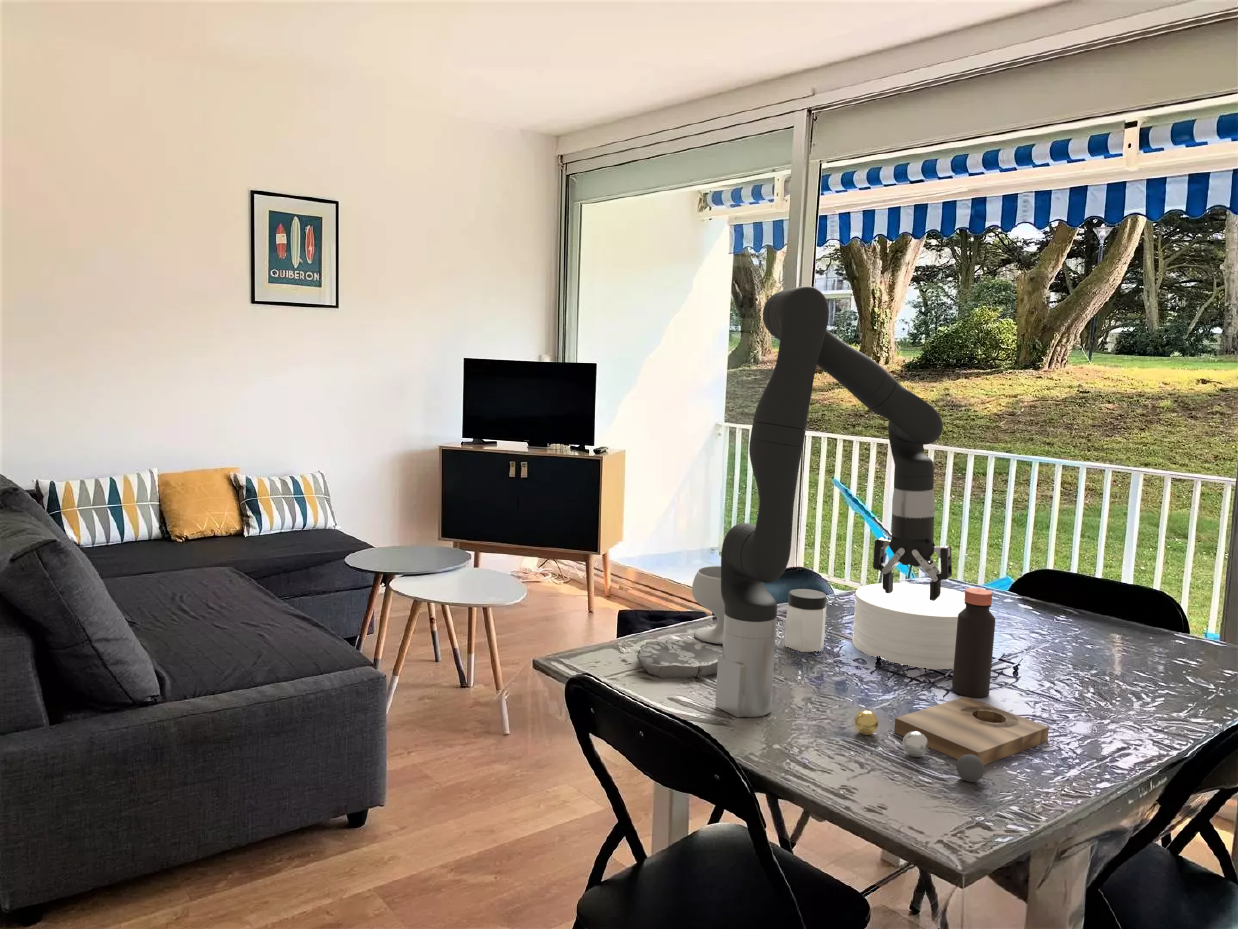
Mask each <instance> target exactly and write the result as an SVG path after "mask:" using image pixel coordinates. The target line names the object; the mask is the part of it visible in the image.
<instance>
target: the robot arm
mask: <svg viewBox="0 0 1238 929" xmlns="http://www.w3.org/2000/svg"><path fill="white" fill-rule="evenodd" d="M829 316H830V309H829V304H828V300H827V299H826V296H825V295H824V294H823V293H822V291H821V290H819V289H818V288H817V287H814V286H809V285H806V286H805V285H804V286H803V285H802V286H796V287H792V288H787V289H783V290H780V291H778V292H775V293H774V294H773V295H771V296H770V297H769V298H768V299H767V300H766V301H765V303H764V306H763V310H762V321H763V325H764V326H765V328H766V330H767V331H768V333H769V334H770V335H771V336H772V337H773V338H774V339H775V338H776V339H777V340H779V344H778V352H777V358H776V361H775V366H774V369H773V372H772V374H771V376H770V379H769V381H768V383H767V384H766V387H765V389H764V391H763V392H762V394H761V397H760V399H759V400H758V404H757V406H756V408H755V411H754V415H753V419H752V427H751V431H750V432H751V433H750V437H749V450H748V452H749V458H750V459H749V460H750V463H751V468H752V472H753V476H754V478H755V482H756V487H757V491H758V492H757V493H758V510H757V517H756V523H755V524H754V523H753V524H752V523H746V522H741V523H737V524H735V525H734V526H732V527H731V528H730V529H729V530H728V532H727V533H726V535H725V537H724V539H723V541H722V542H723V543H722V546H721V552H720V553H721V555H720V566H721V595H722V599H723V601H724V605H725V613H724V631H723V644H722V648H723V650H722V655H719V656H718V665H717V673H716V687H715V688H716V689H715V704H714V705H715V707H716V708H718V709H720V710H722V711H724V712H726V713H728V714H730V715H732V716H734V717H736V718H742V717H744V718H745V717H748V718H749V717H751V718H752V717H753V718H755V717H762V716H765V715H768V714H769V713H771V712H772V704H773V703H772V701H773V700H772V699H773V683H774V667H775V665H774V664H775V650H776V649H775V648H776V633H777V632H776V631H777V616H778V603H777V601H776V599H775V598H774V596H772V594H771V593H770V592H769V591H768V590H767V588H766V586H765V584H769V583H773V582H776V581H777V580H778V579H780V578H781V577H782V575H784V573H785V571H786V569H787V567H788V564H789V561H790V555H791V549H792V538H793V521H794V520H793V519H794V507H795V498H796V492H797V485H798V484H797V483H798V476H799V469H800V465H801V464H800V463H801V458H802V454H803V450H804V449H803V448H804V443H805V437H806V433H807V432H806V431H807V424H808V418H809V417H808V415H809V411H810V410H809V409H810V405H811V404H810V403H811V399H812V392H813V388H814V380H815V375H816V370H817V366H818V367H819V368H820V369H822V370H823V371H824V372H826V373H827V374H828V375H830V376H831V378H833V379H834V380H835V381H836V382H838V383H839V384H841V386H842V387H843V388H845V389H846V390H847V391H848V392H849V393H851V394H852V396H854V397H855V398H856V399H857V400H858V401H859V402H860V403H862V405H864V406H865V407H866V408H867V409H868V410H869V411H871V412H872V413H874V414H875V415H877V416H880V417H883V418H885V419H887V420H888V426H887V434H888V440H889V445H890V452H891V456H892V460H893V462H894V463H893V464H894V470H893V471H894V472H893V474H894V475H893V476H894V477H893V478H894V479H893V493H892V499H891V506H892V507H891V539H886V538H885V537H884V536H880V537H879V538H878V539H875V540H874V545H873V562H872V569H874V570H877V571H879V572H881V573H882V583H883V590H885V593H891V592H892V591H893V583H894V572H893V570H894V569H895V568H896V567H897V566H898V565H899V564H901V565H902V566H912V567H917V568H918V567H921V568H922V570H923V571H924V572H925V573H926V574H927V575H928V577H929V578H930V579H931V580H930V582H929V585H930V600H932V601H935V600H936V599H937V598H938V597H939V596H940V594H941V587H942V584H941V583H942V581H943V580H944V581H946V580H948V579H949V578H950V577H952V576H953V566H952V558H953V557H952V547H951V546H950V545H949V544H948V545H945V546H943V545H942V546H941V545H939V546H938V545H936V544H935V541H934V539H935V536H934V535H935V513H936V507H935V493H934V491H935V490H934V481H935V480H934V478H935V464H934V462H933V460H932V459H931V457H929V456H927V454H926V453H925V448H924V445H931V444H933V443H934V442H936V441H937V440H938V439H939V438H940V437H941V435H942V433H943V429H944V425H943V420H942V417H941V415H940V413H939V412H938V411H937V409H935V408H934V406H932V405H931V404H929V402H927V401H925V400H924V399H923V398H922V397H919V396H918V395H917V394H915V393H914V392H912V391H911V390H908V389H907V388H905V386H903V385H902V384H901V383H899V381H898V380H897V379H896V378H895V377H893V376H892V375H891V374H890V373H889V372H888V371H887V370H886V369H885V368H883V367H882V365H880V364H879V363H878V362H876V361H875V360H874V359H872V358H871V357H869V355H866V354H864V353H863V352H861V351H860V350H858V349H855V347H853V346H851V345H849V344H847V343H845V342H844V341H842V340H841V339H840V338H838V337H837V336H836V335H834V334H833V333H832V332H831V331H829V330H828V329H827V328H828V324H829V318H830V317H829ZM888 547H889V548H890V550H891V552H892V554H893V556H891V558H890V559H889V560H888V562H887V563H885V555H886V554H885V553H886V550H888ZM934 553H935V554H936V556H937V558H938V559H940V569H939V568H938V566H937V563H936V562H935V560H934V559H933V557H932V556H933V555H934Z"/></svg>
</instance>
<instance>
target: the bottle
mask: <svg viewBox="0 0 1238 929" xmlns="http://www.w3.org/2000/svg"><path fill="white" fill-rule="evenodd" d="M964 593H965V599H964V601H965V604H966V608H965V609H963V610H962V611H961V612H960V613H959V614H958V621H957V633H956V645H955V657H954V669H953V672H952V681H951V682H952V683H951V684H952V686H951V689H952V690H953V692H954V693H955V694H958V695H960V696H963V697H969V698H971V699H981V698H982V699H983V698H986V697H988V696H989V695H990V689H991V688H990V686H991V678H992V677H991V675H992V664H993V653H994V652H993V650H994V643H995V642H994V641H995V631H996V629H995V628H996V617H995V616H994V615H993V613H992V612H991V611H990V608H991V607H992V604H993V603H992V602H993V592H992V591H991V590H987V589H984V588H975V587H970V588H965V591H964Z"/></svg>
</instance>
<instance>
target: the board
mask: <svg viewBox="0 0 1238 929" xmlns="http://www.w3.org/2000/svg"><path fill="white" fill-rule="evenodd" d="M893 730H894V731H893V732H894V733H896V734H898V735H901V736H903V737H904V736H905V735H906V734H907V733H909V732H911V731H918V732H920V733H922V734H923V735H925V737H926V738H927V740H928V743H929V747H928V748H930V749H933V750H935V751H938V752H940V753H942V754H944V755H947V756H948V757H951V758H953V759H956V760H957V761H958V760H959V758H960V757H962V756H963V755H966V754H972V755H975V756H977V757H978V758H979V759H980V760H981V761H982V762H983V764H984V766H986V765H988V764H990V763H993V762H997V761H1000V760H1002V759H1005V758H1006V757H1010V756H1012V755H1014V754H1017V753H1019V752H1023V751H1026V750H1028V749H1030V748H1033V747H1036V746H1039V745H1041V744H1043V743H1047V742H1048V740H1049V730H1050V726H1047V725H1045V724H1042V723H1039V722H1036V721H1034V720H1031V719H1028V718H1026V717H1022V716H1020V715H1018V714H1015V713H1012V712H1010V711H1006V710H1004V709H1001V708H998V707H996V706H993V705H990V704H988V703H985V702H982V701H979V700H977V699H975V698H972V697H966V696H963V697H960V698H957V699H953V700H949V701H947V702H943V703H940V704H937V705H934V706H930V707H927V708H924V709H921V710H916V711H913V712H911V713H907V714H904V715H900V716H897V717H895V718H894V729H893Z"/></svg>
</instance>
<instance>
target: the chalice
mask: <svg viewBox="0 0 1238 929" xmlns="http://www.w3.org/2000/svg"><path fill="white" fill-rule="evenodd" d="M691 594H692V597H693V599H694V600H695V602H696V603H698V605H700V606H702V607H703V608H705V609H706V610H708V611H709V612H711V613H712V614H713V615H714V616H715V618H716V619H717V620H716V621H717V623H716V626H707V627H702V628H698V629H696V630H695V631H694V633H693V636H694V637H695V638H696V639H698V640H700V641H703V642H705V643H709V644H711V643H712V644H717V645H718V644H719V645H723V631H724V613H725V605H724V601H723V599H722V595H721V565H717V566H716V565H715V566H705V567H701V568H699V569H698V570H697V572H696V573H695V575H694V578H693V581H692V586H691Z"/></svg>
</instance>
